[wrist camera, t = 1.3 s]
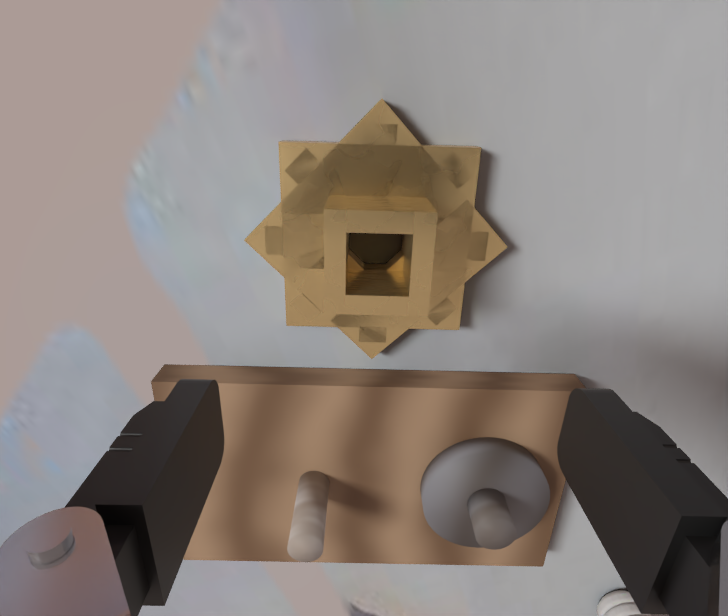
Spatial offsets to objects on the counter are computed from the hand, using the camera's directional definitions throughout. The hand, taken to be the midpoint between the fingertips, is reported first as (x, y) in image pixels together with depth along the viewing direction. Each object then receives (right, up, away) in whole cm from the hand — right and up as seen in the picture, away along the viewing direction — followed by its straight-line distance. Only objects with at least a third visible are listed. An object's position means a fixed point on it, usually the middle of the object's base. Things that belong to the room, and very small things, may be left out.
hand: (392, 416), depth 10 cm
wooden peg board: (0, -8, +21) cm, 23 cm away
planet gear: (0, +6, +15) cm, 16 cm away
